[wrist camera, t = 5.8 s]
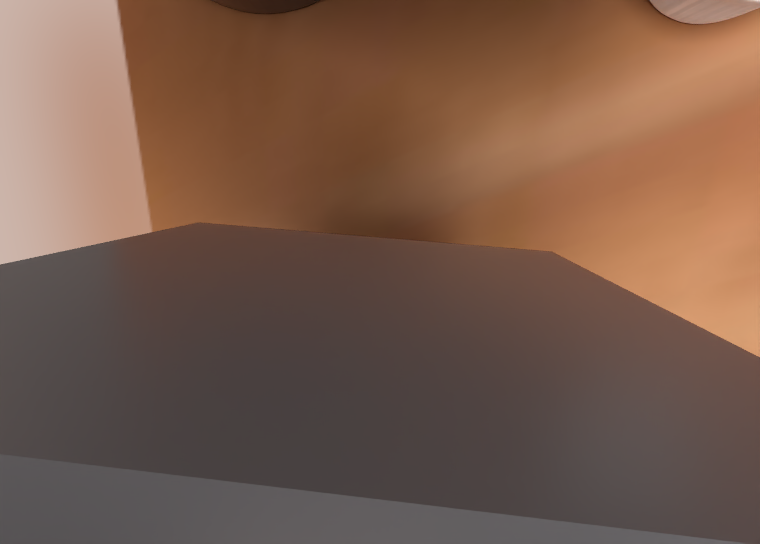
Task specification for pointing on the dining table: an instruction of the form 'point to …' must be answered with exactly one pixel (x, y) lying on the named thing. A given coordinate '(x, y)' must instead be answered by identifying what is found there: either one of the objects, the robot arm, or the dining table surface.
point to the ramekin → (704, 9)
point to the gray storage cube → (361, 398)
